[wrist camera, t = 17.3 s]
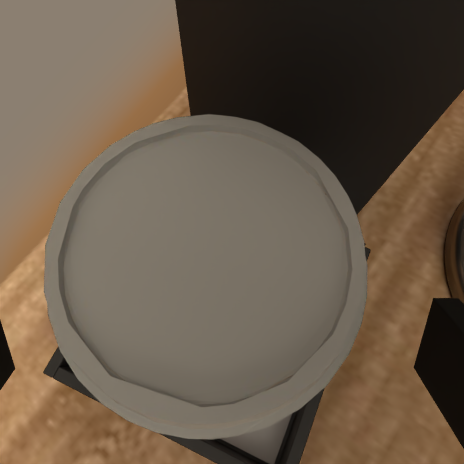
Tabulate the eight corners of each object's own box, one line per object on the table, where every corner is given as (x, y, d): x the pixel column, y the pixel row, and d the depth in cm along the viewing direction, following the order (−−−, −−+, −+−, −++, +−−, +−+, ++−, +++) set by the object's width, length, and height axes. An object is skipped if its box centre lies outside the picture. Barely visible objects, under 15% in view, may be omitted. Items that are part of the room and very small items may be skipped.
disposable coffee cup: (98, 307, 21) (-46, 237, 10) (221, 204, 24) (218, 52, 12) (209, 446, 19) (188, 559, 8) (334, 316, 21) (457, 255, 10)
